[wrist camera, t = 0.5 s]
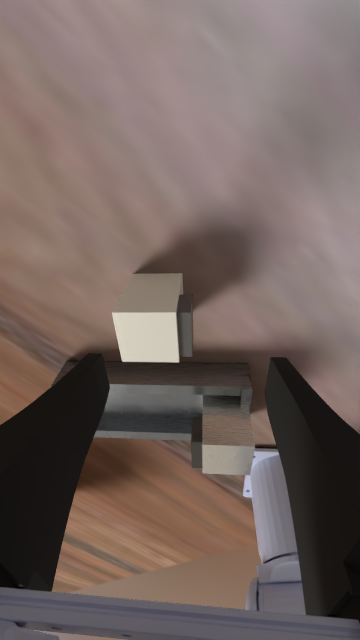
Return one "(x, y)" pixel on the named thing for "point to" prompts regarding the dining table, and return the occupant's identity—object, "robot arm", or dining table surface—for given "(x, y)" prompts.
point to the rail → (182, 409)
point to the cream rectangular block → (154, 319)
